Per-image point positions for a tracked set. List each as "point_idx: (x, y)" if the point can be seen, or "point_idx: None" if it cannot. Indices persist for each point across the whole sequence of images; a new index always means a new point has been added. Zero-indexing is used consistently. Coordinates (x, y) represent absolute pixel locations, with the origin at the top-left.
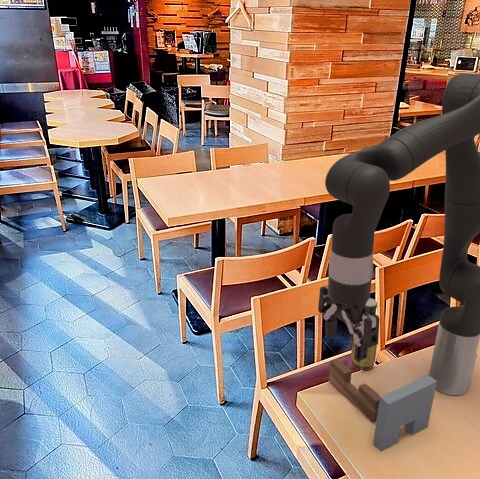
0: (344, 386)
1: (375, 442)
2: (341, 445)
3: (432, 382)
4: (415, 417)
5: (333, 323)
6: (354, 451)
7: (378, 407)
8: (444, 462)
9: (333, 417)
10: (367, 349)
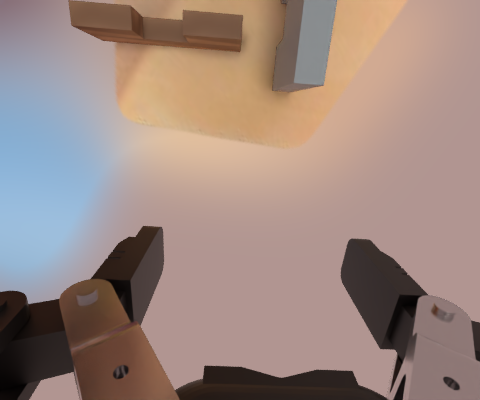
0: (146, 39)
1: (278, 90)
2: (245, 140)
3: None
4: None
5: (140, 289)
6: (265, 130)
7: (287, 85)
8: (373, 8)
9: (191, 107)
10: (418, 287)
